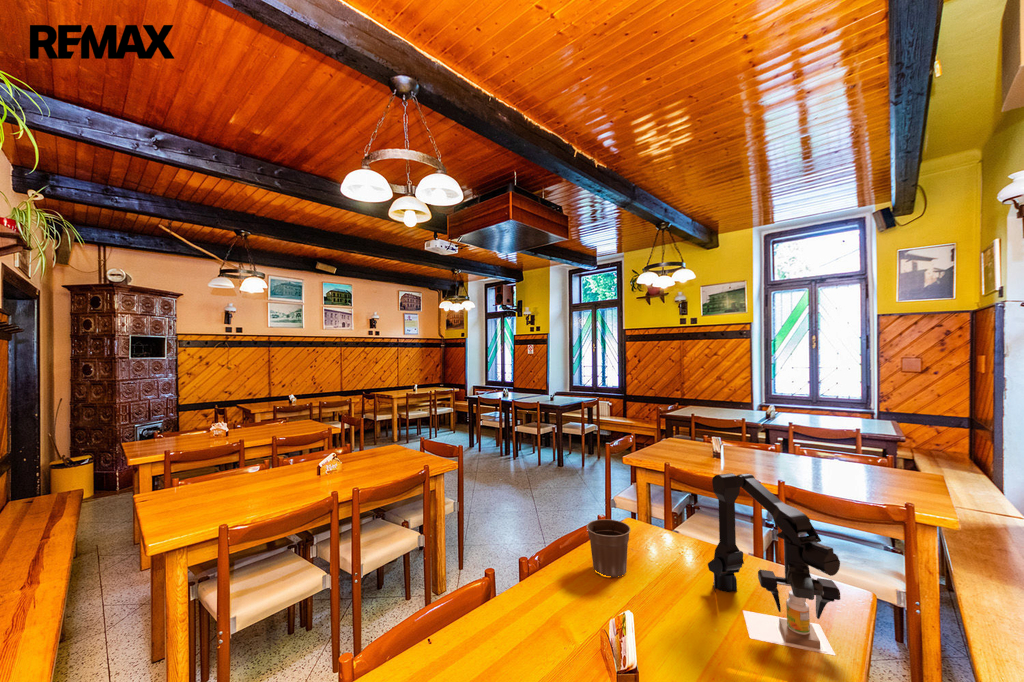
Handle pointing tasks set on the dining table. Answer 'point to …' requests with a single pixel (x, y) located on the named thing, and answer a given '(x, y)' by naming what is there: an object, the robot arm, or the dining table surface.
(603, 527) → the plant pot
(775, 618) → the white flat board
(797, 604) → the supplement bottle
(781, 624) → the grey plinth
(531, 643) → the dining table surface
